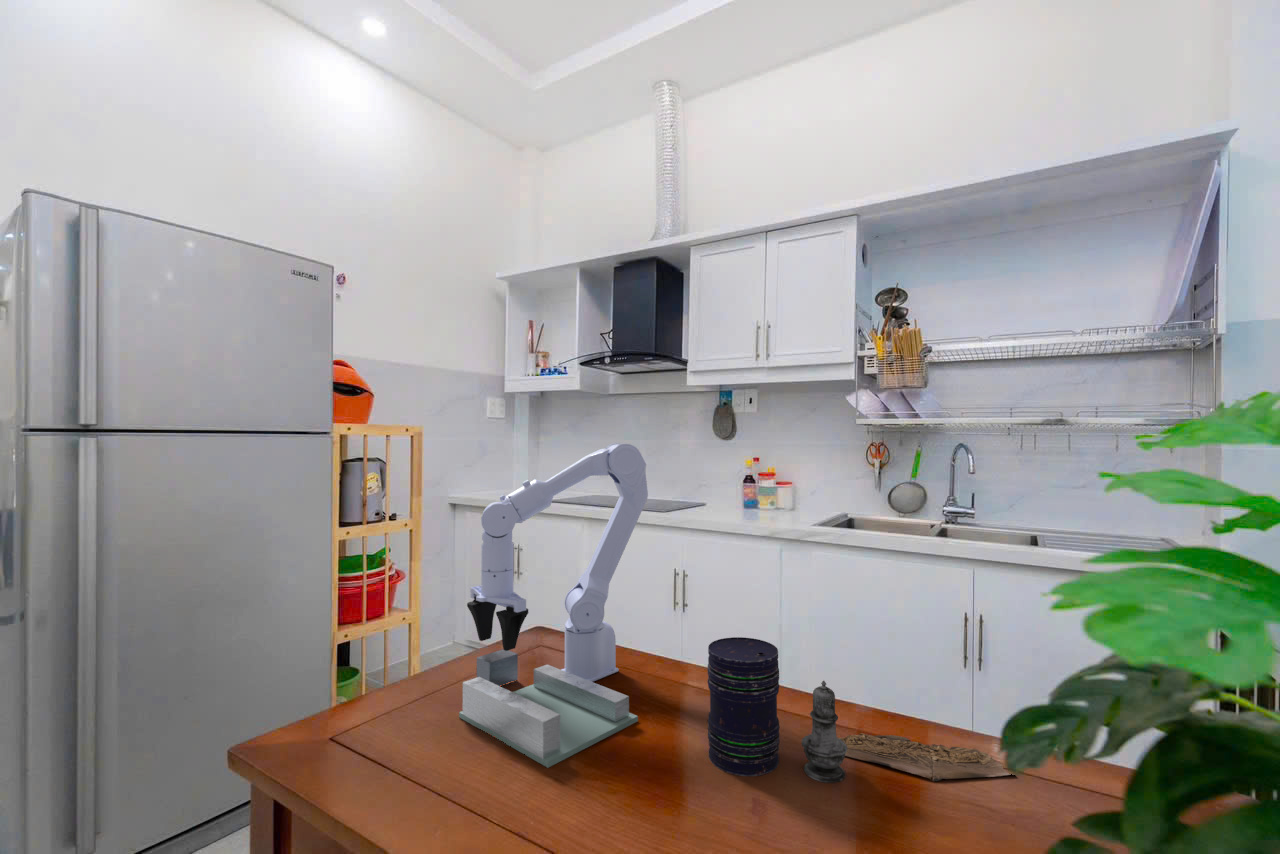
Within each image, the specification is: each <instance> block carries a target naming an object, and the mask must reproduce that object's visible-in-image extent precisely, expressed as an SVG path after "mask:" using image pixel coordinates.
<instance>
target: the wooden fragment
mask: <svg viewBox="0 0 1280 854" xmlns="http://www.w3.org/2000/svg"><path fill="white" fill-rule="evenodd" d="M838 738H839V739H841V740H842V741H843V742H844V743H845V744H846V745H847V748H848V749H847V752H846V753H845V757H849V758H852V759H856V760H861V761H864V762H865V761H866V762H871V763H876V764H880V765H883V766H887V767H889V768H892V769H896V770H900V771H903V772H907V773H910V774H912V775H913V774H914V775H917V776H921V777H924V778H927V779H929V780H931V781H933V782H938V781H941V780H944V779H945V780H951V779H971V778H986V777H987V778H991V777H992V778H993V777H1003V776H1010V775H1011V774H1009V773H1007V772H1006V771H1005V770H1004V769H1003V766H1002V765H1003V764H1002V763H1001V762H999V761H997V760H996V759H994V758H993V757H992V756H991V755H989V754H988V753H987V752H985V751H981V750H979V749H976V748H975V747H973V748H968V747H967V748H966V747H961V746H951V747H948V746H945V745H942V744H938V745H937V744H934V743H932V744H931V745H929V744H924V743H921V742H918V741H912V740H911V739H909V738H908V737H904V736H899V735H893V734H890V735H889V734H886V735H881V734H878V735H871V734H866V733H862V732H861V733H859V734H852V735H851V734H848V735H846V736H845V737H838ZM997 762H998V763H997ZM1014 777H1015V778H1017V775H1016V776H1014Z"/></svg>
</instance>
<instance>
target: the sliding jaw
mask: <svg viewBox="0 0 1280 854" xmlns="http://www.w3.org/2000/svg"><path fill="white" fill-rule="evenodd" d="M533 684H534V687H536V688H538V689H541V690H543V691H545V692H548V693H550V694H552V695H554V696H557V697H559V698H561V699H563V700H566V701H568V702H570V703H573V704H575V705H577V706H579V707H582V708H584V709H586V710H589V711H591V712H593V713H595V714H598V715H600V716H602V717H604V718H607V719H609V720H611V721H614V722H617V721H619V720H621V719H623V718H625V717H627V716H629V713H630V696H629V695H626V694H624V693H621V692H619V691H616V690H615V689H611V688H608V687H606V686H603V685H602V684H601V685H600V684H598V683H595V681H593V682H591V681H588V680H586V679H583V678H581V677H578V676H576V675H573V674H571V673H568V672H565V671H563V670H561V668H557V667H555V666H553V665H550V664H545V665H541V666H539V667H536V668H533Z"/></svg>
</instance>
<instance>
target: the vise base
mask: <svg viewBox="0 0 1280 854" xmlns="http://www.w3.org/2000/svg"><path fill="white" fill-rule="evenodd" d="M458 712H459V713H458V718H459V719H461V720H462V721H465V722H467V723H468V724H470V725H472V726H474V727H475V728H478V730H480V729H481V731H482V730H483V731H482V732H484V731H485V732H484V733H486V732H487V733H489V734H491V735H492V736H491V735H490V736H491V737H493V736H495V737H496V738H497V739H496V738H495V739H496V740H498V739H499V740H498V741H500V740H501V741H503V742H504V743H503V742H502V743H503V744H505V743H506V744H505V745H506V746H509V747H510V746H511V748H512V749H514V750H515V751H518V752H519V753H521V754H523V755H524V754H525V755H524V756H527V757H528V758H530V759H532V760H533V761H535V762H537V763H538V764H541V765H542V766H543V767H546V768H547V769H548V768H550V767H551V768H552V767H553V766H554V765H556V764H558V763H560V762H562V761H564V760H566V759H568V758H570V757H571V756H574V755H576V754H577V753H579V752H581V751H583V750H586V749H587V748H589V747H591V746H592V745H595V744H597V743H599V742H600V741H602V740H604V739H606V738H608V737H611V736H613V735H614V734H616V733H619V732H620V731H622V730H624V729H625V728H628V727H630V726H632V725H633V724H635V723H637V722H638V721H639V716H638V715H636V714H634V713H632V712H629V716H627V717H625V718H623V719H621V720H619V721H617V722H614V721H611V720H609V719H607V718H604V717H602V716H600V715H598V714H595V713H593V712H591V711H589V710H586V709H584V708H582V707H579V706H577V705H575V704H573V703H570V702H568V701H566V700H563V699H561V698H559V697H557V696H554V695H552V694H550V693H548V692H545V691H543V690H541V689H538V688H536V687H534V683H532V684H530V685H527V686H525V687H522V688H520V689H517V690H514V691H510V690H509V689H507V688H504V687H503V686H502V687H500V686H498V685H496V684H494V683H492V682H490V681H487V680H485V679H483V678H481V677H477V676H476V677H475V678H471V679H468V680H464V681H463V682H462V710H461V711H458ZM487 733H486V734H487ZM489 734H488V735H489ZM501 741H500V742H501Z"/></svg>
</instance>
